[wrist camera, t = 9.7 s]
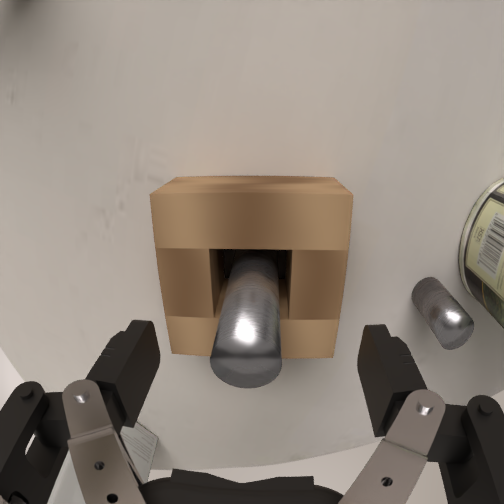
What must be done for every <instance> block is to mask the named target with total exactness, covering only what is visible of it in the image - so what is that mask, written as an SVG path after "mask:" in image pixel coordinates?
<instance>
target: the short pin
mask: <svg viewBox="0 0 504 504" xmlns="http://www.w3.org/2000/svg"><path fill="white" fill-rule="evenodd" d="M412 301H413V303H414V304H415V306H416V307H417V309H418V310H419V311H420V313H421V314H422V316H423V317H424V319H425V320H426V322H427V323H428V325H429V326H430V328H431V330H432V331H433V333H434V334H435V336H436V337H437V339H438V340H439V342H440V344H441V345H442V347H443V348H445V349H448V350H452V349H456V348H458V347H460V346H461V345H463V344H464V343H465V342H466V341H467V340H468V339H469V338H470V336H471V334H472V332H473V329H474V322H473V320H472V318H471V317H470V316H469V315H468V314H467V312H466V311H465V310H464V309H463V308H462V307H461V305H460V304H459V303H458V302H457V301H456V300H455V298H454V297H453V296H452V295H451V294H450V293H449V292H448V290H447V289H446V288H445V287H444V286H443V285H442V284H441V283H440V282H439V280H437V279H436V278H434V277H427V278H424V279H422V280H421V281H420V282H418V283H417V285H416V286H415V287H414V289H413V292H412Z"/></svg>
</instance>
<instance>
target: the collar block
mask: <svg viewBox="0 0 504 504" xmlns="http://www.w3.org/2000/svg"><path fill="white" fill-rule="evenodd" d="M150 202H151V213H152V223H153V232H154V241H155V249H156V257H157V265H158V272H159V279H160V286H161V293H162V299H163V306H164V312H165V318H166V324H167V329H168V335H169V340H170V346H171V351H172V354H184V355H198V356H211V352H212V348H213V344H214V340H215V335H216V331H217V327H218V323H219V318H220V314H221V310H222V306H223V302H224V298H225V293H226V289H227V285H228V281H229V278H225V276H224V255H223V249H283V250H286V277H285V279H278V285H279V307H280V330H281V356H282V358H333V354H334V349H335V343H336V337H337V331H338V325H339V318H340V312H341V305H342V298H343V291H344V283H345V275H346V267H347V258H348V249H349V240H350V230H351V218H352V206H353V194H352V193H351V192H350V191H348V190H347V189H346V188H345V187H344V186H343V185H342V184H341V183H339V182H338V181H337V180H336V179H335V178H330V177H300V176H202V177H176V178H174V179H173V180H171V181H170V182H168V183H167V184H165V185H163V186H162V187H160V188H159V189H157V190H156V191H154V192H153V193H151V194H150Z"/></svg>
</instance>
